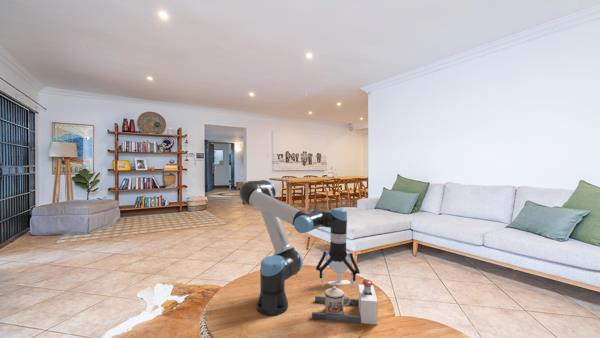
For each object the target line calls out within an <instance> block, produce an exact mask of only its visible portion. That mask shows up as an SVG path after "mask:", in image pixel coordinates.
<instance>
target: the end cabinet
mask: <svg viewBox="0 0 600 338" xmlns="http://www.w3.org/2000/svg"><path fill="white" fill-rule="evenodd" d="M357 290H358V295H357V296H358V298H357V299H358V300H359V305H358V311H359V316H361V323H360V324H366V325H367V324H369V325H378V312H379V311H378V309H379V308H378V303H379V302H378V299H377V298H378V297H377V294H376V291H375V288H374V285H373V284H372V285H371V295H364V285H363V284H359V283H358V289H357Z"/></svg>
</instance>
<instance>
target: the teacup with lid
mask: <svg viewBox="0 0 600 338" xmlns="http://www.w3.org/2000/svg"><path fill="white" fill-rule="evenodd" d="M324 297H325V303H324V312H325V313H330V314H342V315H344V307H347V306H350V305H349V303H350V299H351V298H350V297H349V296H348V295H345V292H344V291H343V289H341V288H337V286H336V285H332V287H330V288H329V287H328V288H327V289H326V290H325V291H324ZM344 298H348V302H347V303H346V304H344Z"/></svg>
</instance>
